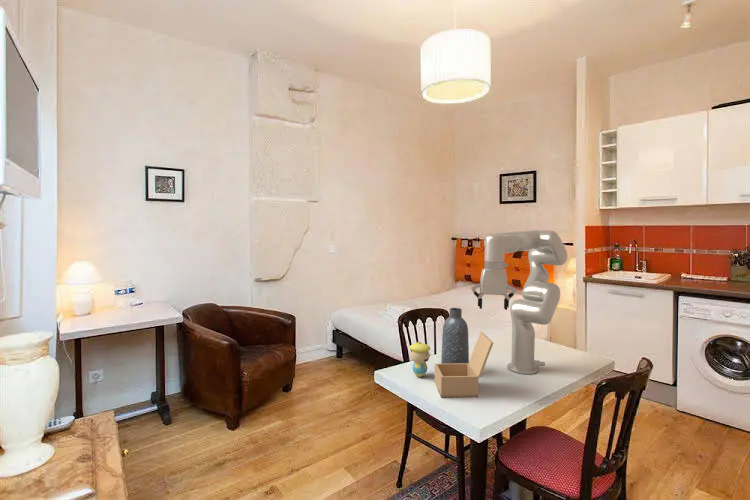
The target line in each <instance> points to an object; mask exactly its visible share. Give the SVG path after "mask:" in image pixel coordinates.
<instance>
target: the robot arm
mask: <svg viewBox="0 0 750 500" xmlns="http://www.w3.org/2000/svg"><path fill="white" fill-rule="evenodd" d="M483 246H484V268H482V269H481V274H480V282H479V283H476V284H475V285H473V286H471V287H470V288H471V292H473V294H474V295H475V296H476V298H477V306H478V307H479V309H480V310H482V309H483V296H485V295H492V296H503V297H504V299H503V309H504V310H506V311H508V308H509V312H510V317H511V362H509V363H508V364H507V369H508V370H509V371H511V372H514V373H515V374H516V373H517V374H519V375H520V374H521V375H533V374H534V375H535V374H536V373H538V371H539V368H538V367H545V366H546V362H545V361H540V360H539V359H536V360H535V345H536V344H535V343H536V342H535V340H536V338H535V337H536V331H535V328H534V326H533V324H536V325H542V326H543V325H544V326H545V325H546V326H547V325H548V324H550V322H551V321H552V319H553V317H554V314H555V312H556V309H557V307H558V305H559V302H560V299H561V288H560V286H559V285H558V284H556V283H553V282H549V280H550V274H549V272H548V270H547V269H546V268H545V266H544V265H550V266H563V265H565V263H566V262H567V260H568V252H567V251H568V250H567V249H566V247H565V245H564V243H563V241H562V239H561V237H560V235H559V234H558V233H557V232H556V231H553V230H538V229H536V230H535V229H534V230H524V231H513V232H502V233H501V232H498V233H497V232H496V233H490V234H488V235H486V236H485V239H484V241H483ZM526 251H528V253H527V254H528V255H527V258H528V263H529V270H530V271H529V275H528V277H527V279H526V281H525V283H524V285H523V288H522V291H521V296H522V298H517V299H514V300H513V301H512V302H511V304H510V300H511V298H513V296H514V295H515V294H516V292H517V288H516V287H514V286H512V285H510V284H508V275H507V270H506V269H505V268H508V267H509V264H508V263H506V262H505V254H513V253H516V252H526ZM477 289H479V291H480V292H479V293H478V292H477ZM508 289H509V290H511V291H510V292H509V293H508ZM509 306H510V307H509Z"/></svg>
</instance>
